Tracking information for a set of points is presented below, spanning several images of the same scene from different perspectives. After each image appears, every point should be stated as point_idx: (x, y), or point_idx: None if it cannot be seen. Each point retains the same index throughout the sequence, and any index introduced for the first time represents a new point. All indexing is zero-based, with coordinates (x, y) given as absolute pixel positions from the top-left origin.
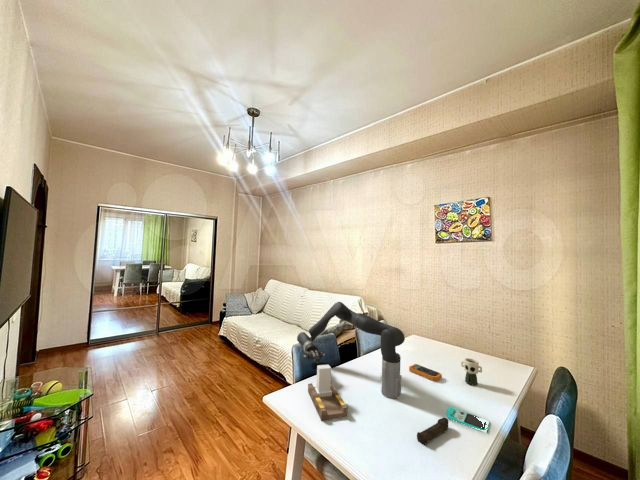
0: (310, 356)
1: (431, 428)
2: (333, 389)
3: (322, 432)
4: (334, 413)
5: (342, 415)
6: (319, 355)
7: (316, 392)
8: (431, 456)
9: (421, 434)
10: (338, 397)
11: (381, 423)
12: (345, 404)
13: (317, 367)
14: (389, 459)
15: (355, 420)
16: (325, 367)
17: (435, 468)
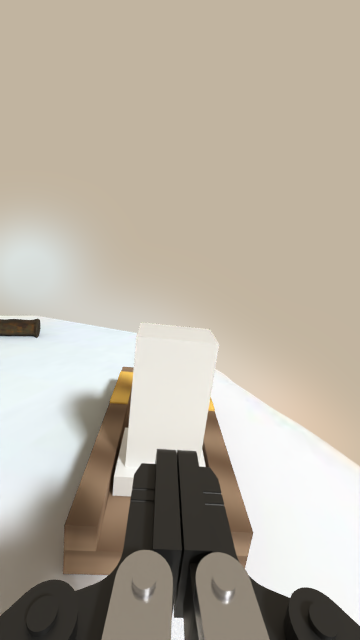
0: (338, 636)
1: (1, 320)
2: (108, 438)
3: None
4: None
5: None
6: (77, 621)
7: (204, 438)
8: (52, 328)
9: (39, 320)
10: (123, 393)
11: (54, 364)
12: (122, 371)
13: (216, 351)
14: (115, 337)
15: (108, 380)
16: (171, 328)
17: (69, 324)
